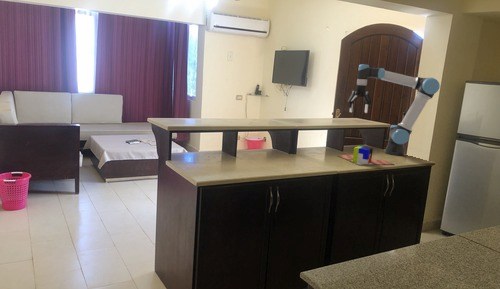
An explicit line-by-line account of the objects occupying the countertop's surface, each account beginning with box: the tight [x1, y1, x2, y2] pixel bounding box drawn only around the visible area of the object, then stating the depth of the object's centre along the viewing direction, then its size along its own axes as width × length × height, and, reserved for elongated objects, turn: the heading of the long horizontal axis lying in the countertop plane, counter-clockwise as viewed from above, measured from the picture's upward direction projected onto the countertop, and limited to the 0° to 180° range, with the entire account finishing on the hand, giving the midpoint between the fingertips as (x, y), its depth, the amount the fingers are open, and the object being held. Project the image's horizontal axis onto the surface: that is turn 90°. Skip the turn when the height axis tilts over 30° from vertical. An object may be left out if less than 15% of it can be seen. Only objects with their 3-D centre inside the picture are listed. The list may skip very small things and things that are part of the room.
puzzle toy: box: [351, 145, 374, 164], centre depth 271 cm, size 10×10×10 cm
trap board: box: [336, 154, 395, 166], centre depth 281 cm, size 29×29×1 cm
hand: (358, 112), depth 303 cm, fingers open, 13 cm apart
